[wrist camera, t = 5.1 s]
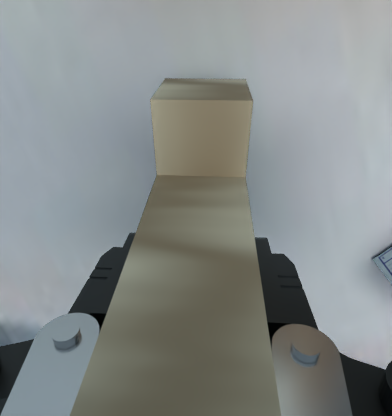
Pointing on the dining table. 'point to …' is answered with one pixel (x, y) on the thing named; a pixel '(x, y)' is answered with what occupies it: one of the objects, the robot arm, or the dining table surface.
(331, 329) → the dining table surface
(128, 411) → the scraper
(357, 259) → the dining table surface
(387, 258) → the medicine box
